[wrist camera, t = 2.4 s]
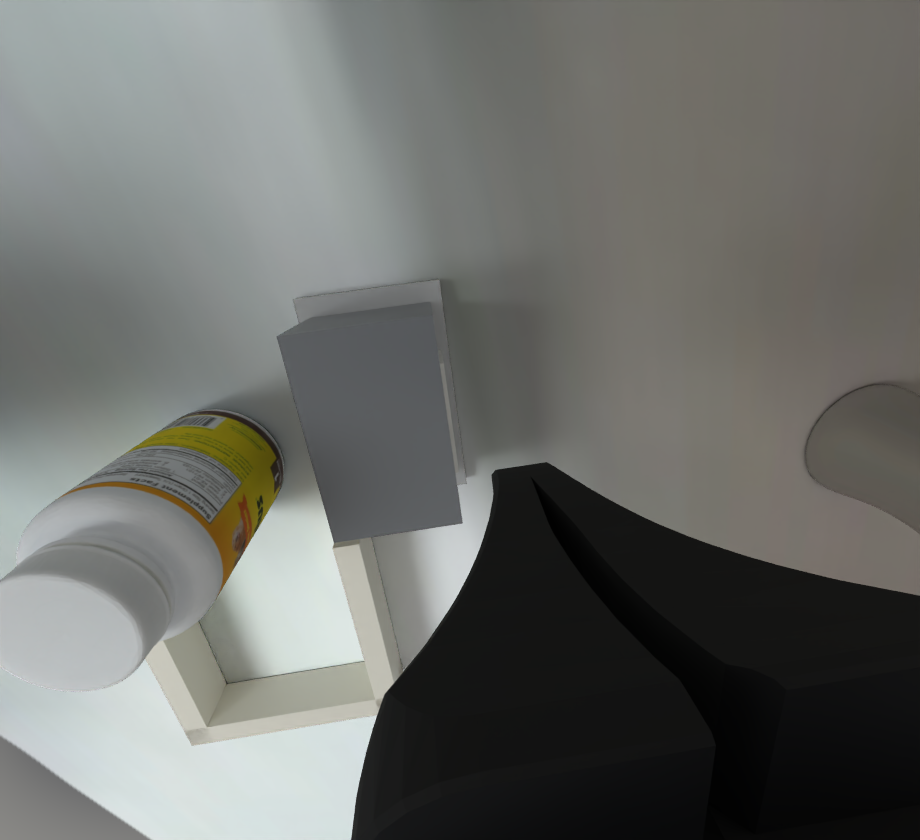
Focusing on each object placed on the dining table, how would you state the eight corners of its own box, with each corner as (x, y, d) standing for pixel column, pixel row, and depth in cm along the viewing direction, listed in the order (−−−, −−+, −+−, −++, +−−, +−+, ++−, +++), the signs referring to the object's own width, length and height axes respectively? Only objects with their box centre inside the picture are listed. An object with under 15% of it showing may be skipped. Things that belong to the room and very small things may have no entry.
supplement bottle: (245, 530, 22) (108, 743, 12) (141, 465, 20) (-112, 653, 11) (313, 455, 21) (220, 625, 11) (209, 379, 19) (-6, 504, 9)
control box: (346, 495, 22) (326, 561, 17) (296, 298, 18) (253, 312, 13) (465, 477, 22) (477, 538, 17) (438, 279, 18) (444, 286, 14)
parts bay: (212, 701, 26) (191, 745, 23) (139, 548, 22) (104, 583, 19) (403, 670, 26) (401, 710, 24) (365, 513, 22) (358, 544, 20)
